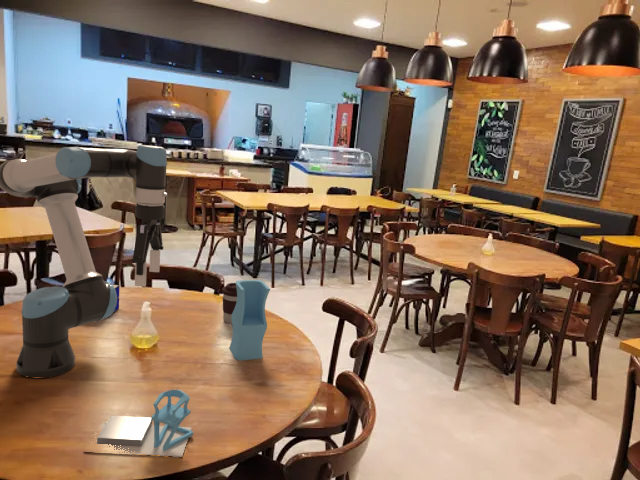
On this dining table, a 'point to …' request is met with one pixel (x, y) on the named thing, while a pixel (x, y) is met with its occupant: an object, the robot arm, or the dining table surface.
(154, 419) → the chair
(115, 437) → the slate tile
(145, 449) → the mat
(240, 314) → the blue wavy holder
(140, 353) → the dining table surface
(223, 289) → the coffee cup
